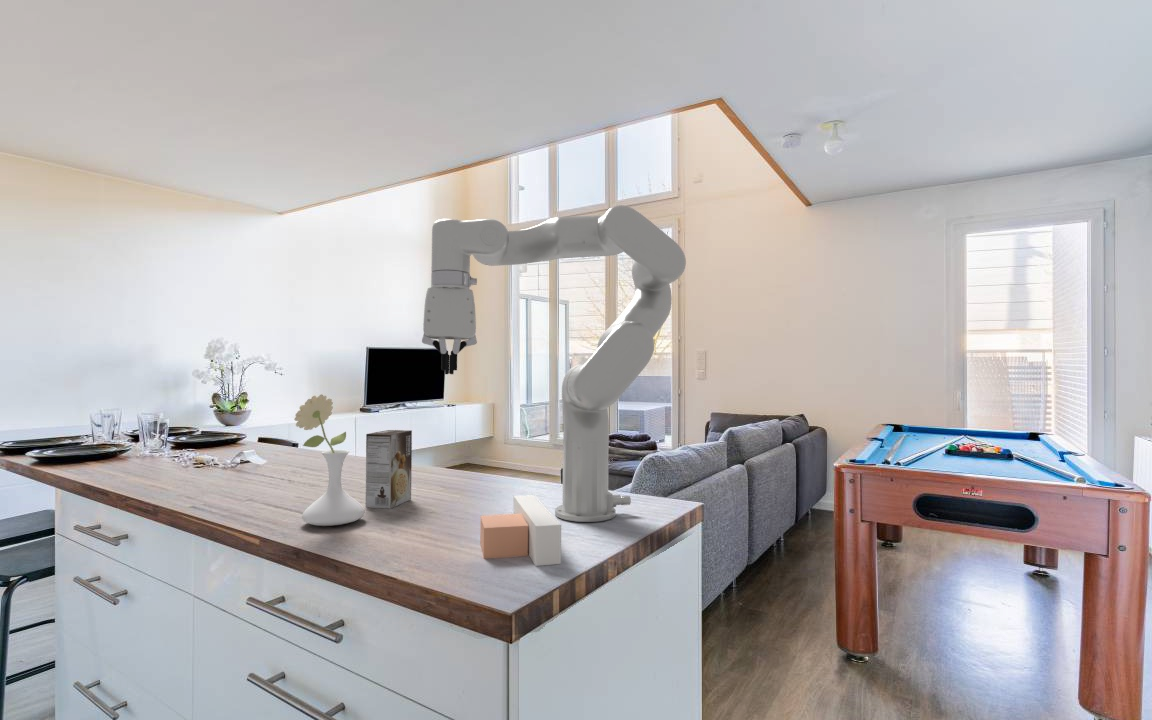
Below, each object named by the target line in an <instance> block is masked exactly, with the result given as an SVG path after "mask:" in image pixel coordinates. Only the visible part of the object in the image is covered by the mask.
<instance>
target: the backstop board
mask: <svg viewBox="0 0 1152 720" xmlns="http://www.w3.org/2000/svg"><path fill="white" fill-rule="evenodd" d="M512 511H513V513H512V514H522V516H523V518H524V520H525V521H526V523H527V525H528V555H529V557H530V559H531V561H532V562H533V564H534V566H535V567H539V566H550V565H551V566H553V565H562V524H561V523H560V521H559V520H558V519H557V518H556V517H555V516H554V514H553V513H551V512H550V510H548V508H547V507H546V506H545V505H544V503H542V502H541V501H540V499H539V498H538V497H537V496H536V495H535V494H527V495H513V510H512Z"/></svg>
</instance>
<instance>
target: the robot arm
mask: <svg viewBox="0 0 1152 720" xmlns="http://www.w3.org/2000/svg"><path fill="white" fill-rule="evenodd" d="M622 253H625V255H627V256H628V257H629V258H630V259H632V260H633V264H632V268H631V276H632V277H631V278H632V280H633V284H634V294H633V298H632V299H631V301H630V302H629V303H628V305H627V306H626V308H624V310H623V311H622V313H620V315H619V316H617V318H616V319H615V320H614V322H613V323H611V325H610V326H609V327H608V328H607V329H606V330H605V331H604V332H603V333H602V334H601V336H600V338H599V339H598V343H597V349H596V350H595V351H594V353H593V354H591V356H590V357H589V358H588V360H587V361H586V362H581V363H578V364H575V365H573V366H572V367H571V368H570V369H569V370H568V371H567V372H566V374H565V375H564V378H563V380H562V385H561V402H562V416H563V417H562V422H563V423H562V424H563V429H562V430H563V431H562V434H563V435H562V436H563V439H562V504H561V505H558V506H557V507H556V508H555V510H554V515H555V516H556V517H557V518H559V519H561V520H563V521H564V520H565V521H570V522H579V523H596V522H604V521H608V520H612V519H613V518H615V517H616V515H617V511H616V508H617V506H630V505H631V503H632V502H631V501H632V500H631V496H630V495H621V494H613V493H611V492H609V450H610V449H609V446H610V445H609V441H610V421H609V420H610V419H609V411H608V410H609V408H610V407H611V406H613V405H614V404H615V403H616V402H617V401H618V400H619V399H620V397H621V396H622V395H623V394H624V393H625V392H626V391H627V389H629V387H630V386H631V385H632V384H633V383H634V381H635V380H636V378H637V377H638V376H639V375H640V374H641V373H642V371H644V369H645V368H646V366H647V365H648V364H649V362H650V361H651V359H652V357H653V354H654V351H655V339H654V337H655V336H656V334H657V333H658V332H659V330H660V329H661V328H662V327H663V325H664V324H665V323H666V321H667V319H668V317H669V315H670V313H671V310H672V300H673V299H672V290H671V284H672V283H674V282H676V281H677V280H678V279H680V278H681V276H682V275H683V273H684V272H685V271H686V270H685V269H686V264H687V261H686V259H687V258H686V255H685V252H684V250H683V249H682V247H681V246H680V245H679V244H678V243H677V242H676V240H674V239H672V238H671V236H669V235H668V234H666V233H665V232H664V231H663V230H661V228H659V227H658V226H657V225H656V224H654V223H653V222H652V221H650V220H649V219H648V218H647V217H646V216H644V215H643V214H642V213H640V212H639V211H637V210H636V209H634V208H632V207H631V206H628V205H622V204H619V205H618V204H617V205H614V206H612V207H611V208H610V207H609V209H608V210H607V211H605V213H604V214H601V215H600V214H599V215H579V216H577V215H575V216H556V217H553V218H549V219H547V220H546V221H543V222H541V223H539V224H538V225H535V226H531V227H529V228H524V229H518V230H508V228H507V227H506V225H504V224H503V223H502V222H501V221H499V220H498V219H497V220H496V219H492V218H482V219H481V218H480V219H473V220H471V219H470V220H461V219H460V220H459V219H454V218H442V219H438V220H436V221H434V222H433V224H432V228H431V274H430V275H431V278H430V279H431V280H430V284H431V285H430V287H428V288H427V291H426V293H425V294H426V295H425V299H424V309H423V323H422V324H423V328H422V330H423V336H422V337H421V338H422V339H421V343H422V344H424V345H428V346H432V347H434V348H435V349H436V350H437V351H438V352H439V353H440V354H441V371H444V375H449V374H450V375H454V371H458V354H459V353H460V352H461V351H463V349H464V348H466V347H470V346H475V345H477V343H478V341H477V336H476V332H477V331H476V329H477V318H476V306H475V305H476V304H475V296H474V291H473V289H470V288H471V287H472V286H477V285H478V278H475V277H472V275H471V273H470V272H471V271H470V270H471V269H470V267H471V255H472V256H473V258H474V259H475V260H476V261H477V262H478V263H479V264H482V265H484V266H489V267H490V266H491V267H492V266H493V267H494V266H514V265H516V266H517V265H524V264H532V263H540V262H548V261H549V262H550V261H553V260H560V259H573V258H574V259H575V258H593V257H610V256H617V255H621V254H622ZM447 340H453V344H452V350H451V351H450V354H449V350H448V349H447V343H446V341H447ZM462 340H463V341H462Z"/></svg>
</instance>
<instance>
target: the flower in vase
mask: <svg viewBox="0 0 1152 720" xmlns="http://www.w3.org/2000/svg"><path fill="white" fill-rule="evenodd" d="M333 403H334V402H333V400H332V398H327V395H324V394H323V393H322V394H319V395H318V396H316V395H313V396H311V398H308V399H307V400H306V401H305V402H304V404H300V406H299V410H298V411H297V412H296V413H295V417H294V418H293V419H294V421H295V422H296V423H295V426H296V427H297V428H299V429H303V430H304V431H311V430H313V429H314V428H315V429H316V428H318V427H319V426H320V428H321V431H322V434H323V436H322V435H313V436H311V437H310V438H308V439H307V440H306V441H305V442H304V443H303V444H302V447H306V448H317V447H319V446H320V445H321V444H322V443H323V442H324V440H325V441H326V443H327V445H328V446H329V449H330V450H324V451H321V454H322V456H323V457H324V458H325V461H326V463H327V469H328V470H327V471H328V482H327V483H328V484H327V487H326V491H325V492H324V493H323V494H322V495H321V496H320V497H318V498H317V499H316V500H315V501H313V502H312V503H311V504H310V505H308V507H307V508H306V509H305V510H304V511H303V512H302V514H301V519H302V521H303V522H304V523H307V524H309V525H313V526H319V527H320V526H321V527H331V526H340V525H341V526H342V525H346V524H349V523H353V522H355V521H357V520H360V519H362V518H363V517H364V516H365V514H366V509H365V508H364V506H363V505H362V504H361V503H360V502H359V501H358V500H356V499H355V498H354V497H352V496H350V495H349V494H348V493H347V492H346V491H345V490H344V489H343V486H342V485H343V484H342V471H343V465H344V462H345V459H346V457H347V455H348V454H349V453H350V450H349V449H334V448H333V446H336V445H340V444H342V443H344V442H345V440H346V439H347V438H346V437H347V432H346V431H344V432H343V433H341V434H339V435H337V436H334V437H332V438H331V439H330V442H329V439H328V438H327V436H326V435H327V434H326V433H325V428H324V424H325V423H326V421H327V420H328V419H329V417H330V416H331V415H332V413H333V412H332V410H333V408H334V407H333Z"/></svg>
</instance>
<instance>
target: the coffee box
mask: <svg viewBox="0 0 1152 720" xmlns="http://www.w3.org/2000/svg"><path fill="white" fill-rule="evenodd" d="M412 433H413V430H407V429H406V430H403V429H402V430H401V429H387V430H382V431H381V430H380V431H376V432H371V433H367V434H365V435H366V436H365V437H366V439H365V440H366V441H365V443H366V444H365V445H366V446H365V453H366V454H365V508H371V509H373V508H375V509H389V510H390V509H393V508H396V507H397V506H400V505H402V504H405V503H406V502H409V501H411V500H412V468H413V467H412V466H413V465H412V457H413V456H412V452H413V451H412V450H413V446H412V445H413V441H412V439H413V434H412Z"/></svg>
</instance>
